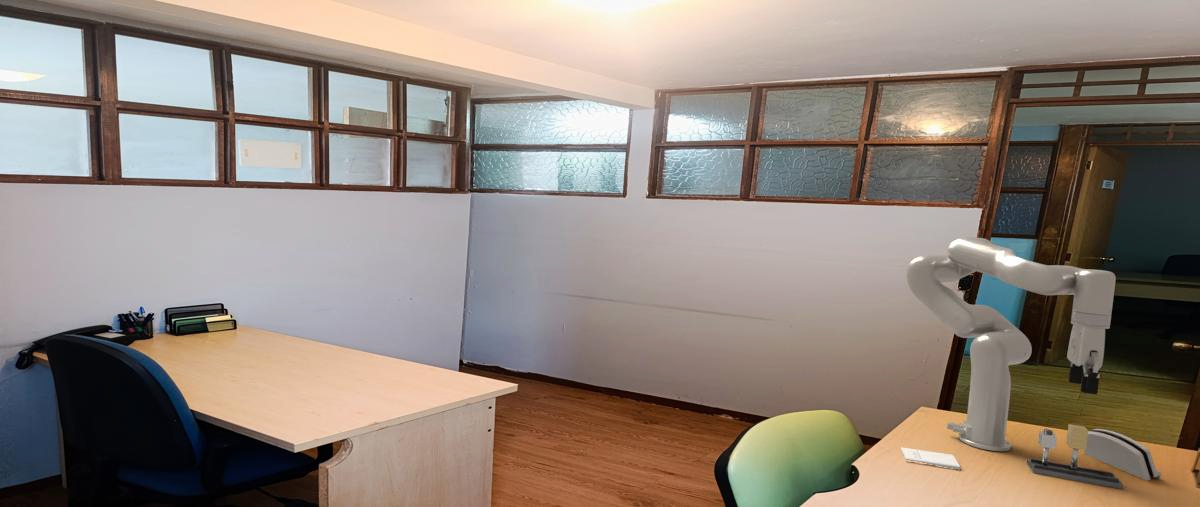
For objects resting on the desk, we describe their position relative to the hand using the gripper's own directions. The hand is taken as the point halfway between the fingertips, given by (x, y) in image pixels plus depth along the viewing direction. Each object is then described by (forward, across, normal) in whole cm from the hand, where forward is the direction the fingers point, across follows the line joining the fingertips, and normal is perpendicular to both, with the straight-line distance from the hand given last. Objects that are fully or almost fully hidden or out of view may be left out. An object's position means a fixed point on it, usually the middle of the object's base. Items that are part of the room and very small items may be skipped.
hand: (1082, 388), depth 153 cm
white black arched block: (+23, -14, +13) cm, 30 cm away
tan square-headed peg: (+21, 0, 0) cm, 21 cm away
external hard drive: (+23, +9, -32) cm, 41 cm away
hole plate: (+22, 0, 0) cm, 22 cm away
